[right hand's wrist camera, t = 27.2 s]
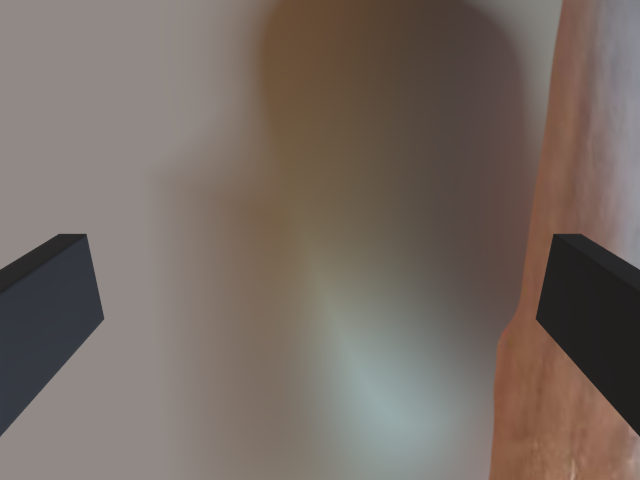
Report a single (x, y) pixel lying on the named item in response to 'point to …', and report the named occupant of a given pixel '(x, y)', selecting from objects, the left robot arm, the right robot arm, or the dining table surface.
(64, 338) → the right robot arm
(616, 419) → the dining table surface
